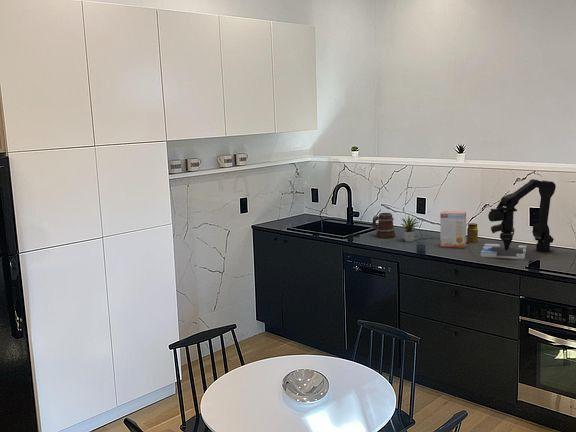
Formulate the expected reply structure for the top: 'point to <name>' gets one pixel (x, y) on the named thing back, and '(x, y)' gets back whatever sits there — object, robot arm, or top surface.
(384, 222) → the mug
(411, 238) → the house plant
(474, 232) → the condiment
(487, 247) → the white plate with bars
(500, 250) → the long grey beam
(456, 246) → the cracker box
